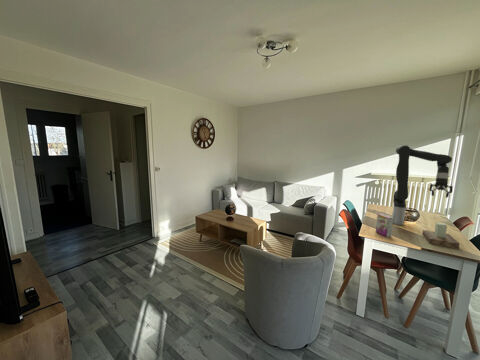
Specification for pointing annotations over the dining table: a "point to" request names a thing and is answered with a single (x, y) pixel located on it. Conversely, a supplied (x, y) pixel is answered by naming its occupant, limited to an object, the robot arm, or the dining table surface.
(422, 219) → the dining table surface
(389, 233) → the candy bar box
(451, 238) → the walnut plinth
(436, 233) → the sage-green block
